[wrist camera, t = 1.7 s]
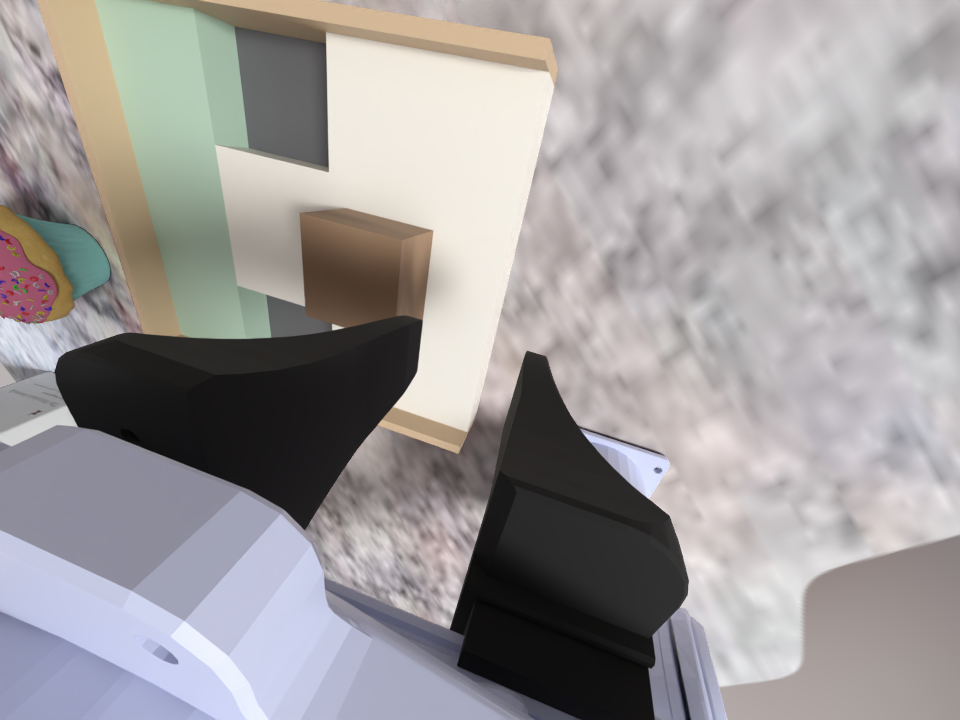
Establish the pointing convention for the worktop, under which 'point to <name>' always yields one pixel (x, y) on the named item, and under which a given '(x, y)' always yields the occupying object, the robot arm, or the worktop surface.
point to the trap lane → (307, 163)
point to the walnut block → (363, 267)
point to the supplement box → (31, 408)
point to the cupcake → (45, 267)
